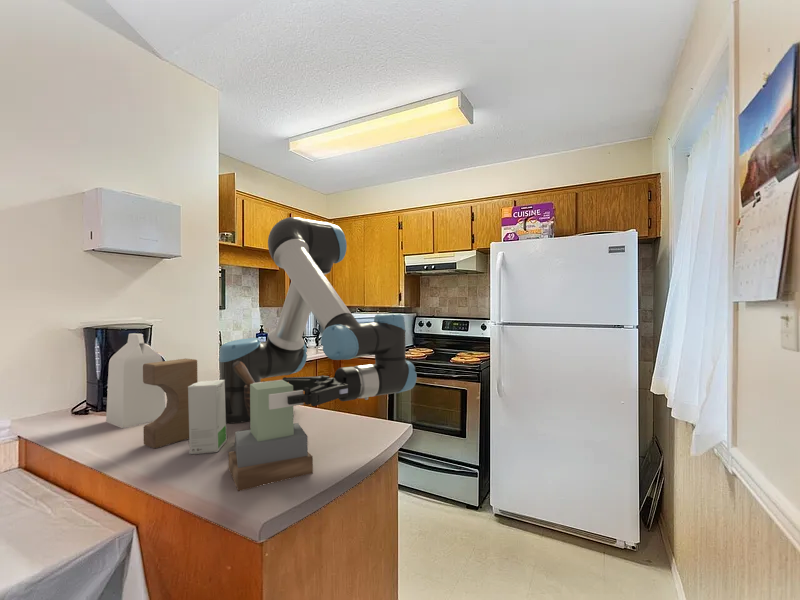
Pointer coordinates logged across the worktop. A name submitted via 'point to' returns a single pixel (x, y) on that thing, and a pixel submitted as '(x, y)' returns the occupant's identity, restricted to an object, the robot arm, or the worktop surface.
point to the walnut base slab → (268, 471)
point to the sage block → (269, 412)
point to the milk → (133, 386)
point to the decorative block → (170, 400)
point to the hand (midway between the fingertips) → (260, 395)
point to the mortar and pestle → (246, 377)
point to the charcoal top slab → (269, 447)
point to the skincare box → (207, 416)
